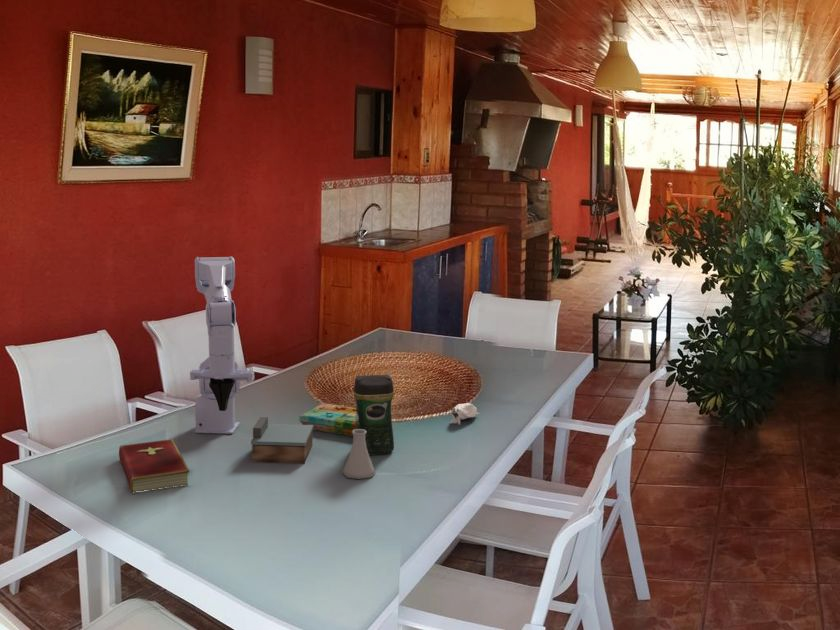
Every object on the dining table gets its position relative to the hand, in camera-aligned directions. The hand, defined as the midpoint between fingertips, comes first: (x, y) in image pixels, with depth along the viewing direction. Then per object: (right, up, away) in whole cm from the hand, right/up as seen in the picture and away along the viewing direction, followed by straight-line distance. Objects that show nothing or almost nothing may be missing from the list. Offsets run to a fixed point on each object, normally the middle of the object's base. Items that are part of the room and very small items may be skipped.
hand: (223, 409), depth 201 cm
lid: (+14, -6, +1) cm, 15 cm away
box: (+14, -11, +2) cm, 17 cm away
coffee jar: (+35, -11, +5) cm, 37 cm away
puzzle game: (+27, -8, +21) cm, 35 cm away
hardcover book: (-13, -13, -11) cm, 22 cm away
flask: (+32, -14, -9) cm, 36 cm away
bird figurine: (+58, -6, +29) cm, 65 cm away
